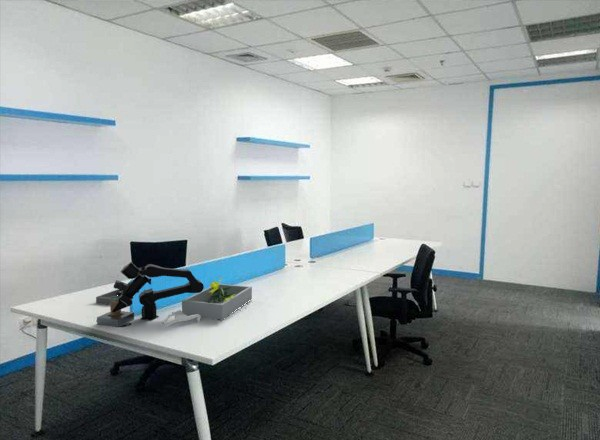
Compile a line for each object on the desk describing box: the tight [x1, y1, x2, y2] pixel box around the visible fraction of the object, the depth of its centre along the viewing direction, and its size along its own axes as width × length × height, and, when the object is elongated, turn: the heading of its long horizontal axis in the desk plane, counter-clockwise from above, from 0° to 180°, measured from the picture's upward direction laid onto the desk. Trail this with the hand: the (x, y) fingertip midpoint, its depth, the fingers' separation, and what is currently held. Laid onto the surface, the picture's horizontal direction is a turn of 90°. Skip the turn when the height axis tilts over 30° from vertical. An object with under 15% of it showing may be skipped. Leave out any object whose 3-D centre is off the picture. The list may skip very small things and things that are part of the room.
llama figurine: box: [161, 309, 202, 329], centre depth 208 cm, size 2×11×18 cm
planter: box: [181, 283, 253, 321], centre depth 236 cm, size 23×39×8 cm, turn 164°
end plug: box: [109, 296, 122, 317], centre depth 210 cm, size 5×5×12 cm
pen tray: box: [95, 289, 120, 305], centre depth 248 cm, size 12×18×4 cm, turn 164°
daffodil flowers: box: [209, 276, 235, 304], centre depth 235 cm, size 17×15×35 cm
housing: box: [96, 310, 135, 328], centre depth 210 cm, size 12×12×4 cm
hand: (112, 309), depth 209 cm, fingers open, 9 cm apart
